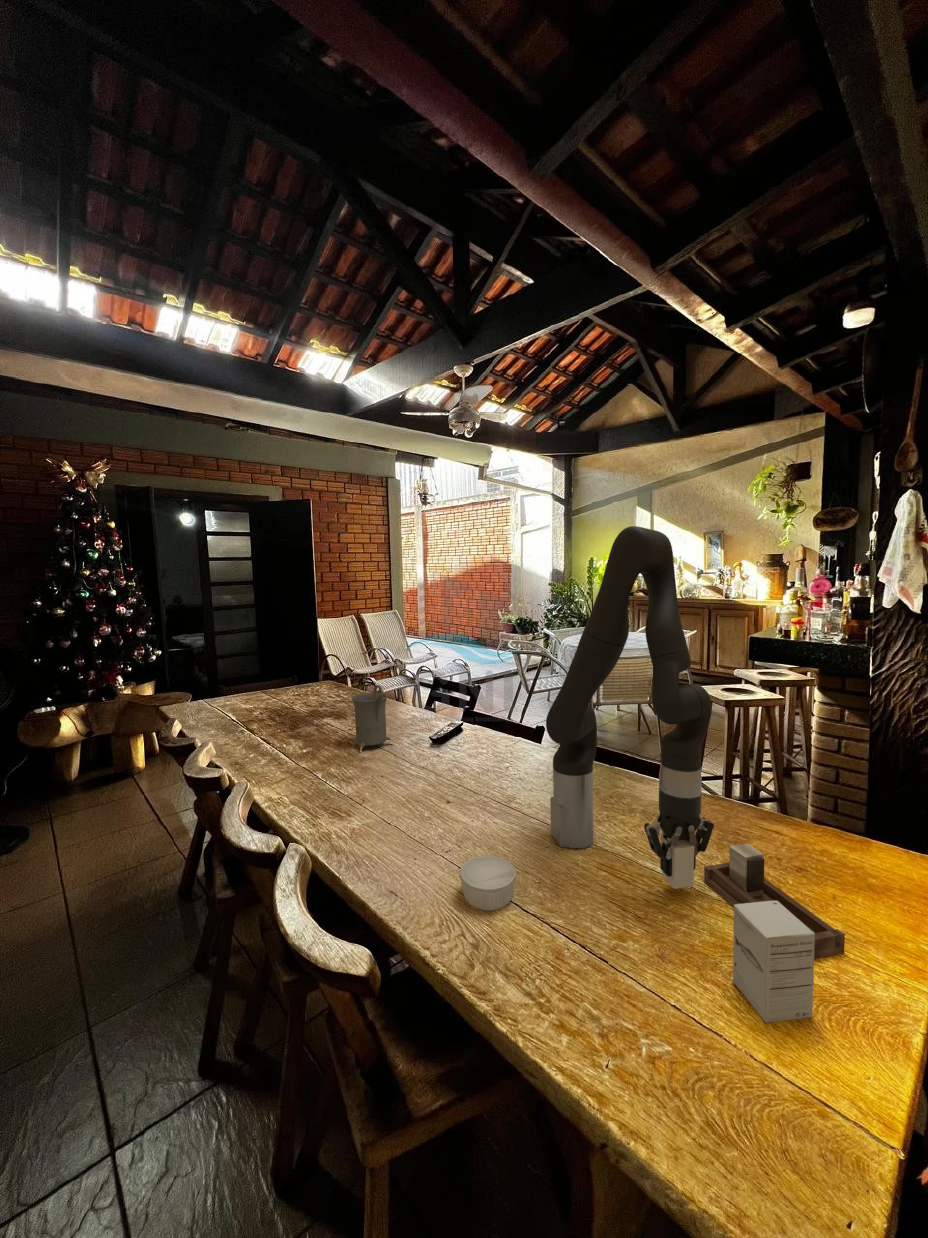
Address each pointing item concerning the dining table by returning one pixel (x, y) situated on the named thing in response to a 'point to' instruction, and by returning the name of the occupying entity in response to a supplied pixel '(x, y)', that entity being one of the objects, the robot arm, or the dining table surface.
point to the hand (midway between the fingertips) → (677, 872)
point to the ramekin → (488, 882)
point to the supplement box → (773, 960)
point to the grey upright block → (681, 866)
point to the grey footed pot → (370, 717)
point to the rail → (767, 895)
